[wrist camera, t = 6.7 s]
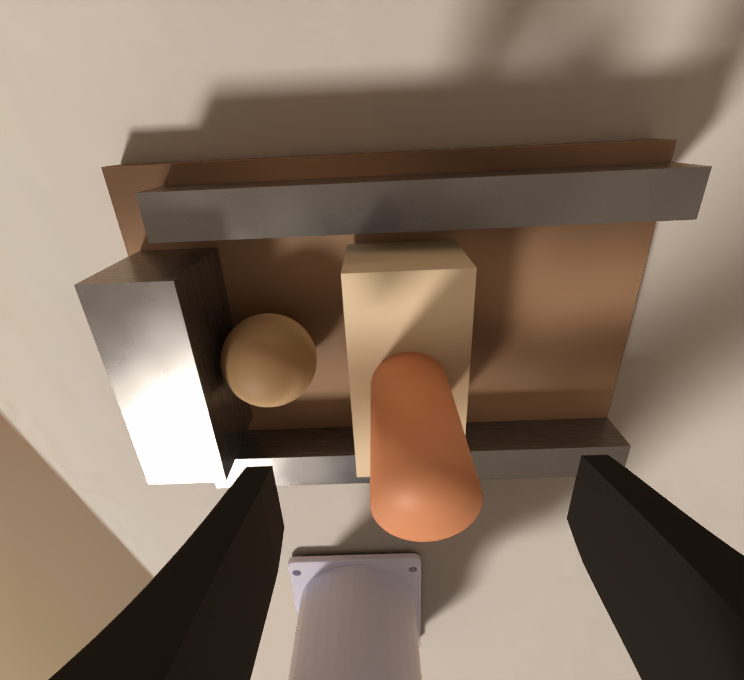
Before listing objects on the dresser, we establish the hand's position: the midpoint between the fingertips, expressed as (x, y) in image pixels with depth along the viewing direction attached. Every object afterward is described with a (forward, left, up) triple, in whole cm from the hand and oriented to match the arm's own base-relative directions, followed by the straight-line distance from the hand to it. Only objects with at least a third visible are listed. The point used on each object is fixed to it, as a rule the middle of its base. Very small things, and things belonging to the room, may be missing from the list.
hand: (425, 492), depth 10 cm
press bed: (0, 0, -10) cm, 10 cm away
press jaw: (0, 0, -8) cm, 8 cm away
